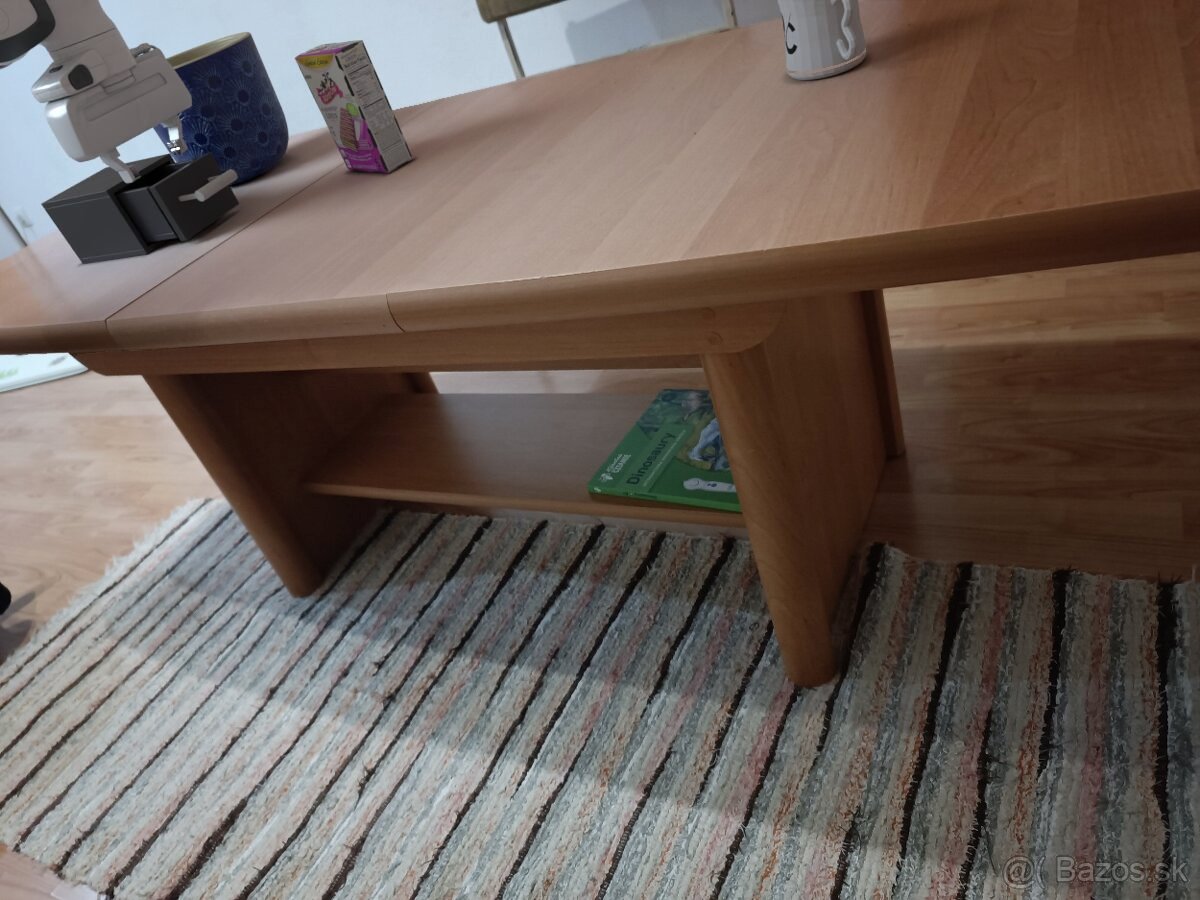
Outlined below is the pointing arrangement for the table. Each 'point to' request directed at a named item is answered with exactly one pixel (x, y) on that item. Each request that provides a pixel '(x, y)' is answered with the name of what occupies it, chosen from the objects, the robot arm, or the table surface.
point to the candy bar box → (354, 106)
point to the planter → (229, 108)
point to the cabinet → (101, 215)
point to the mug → (821, 36)
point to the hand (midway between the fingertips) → (158, 166)
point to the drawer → (178, 198)
